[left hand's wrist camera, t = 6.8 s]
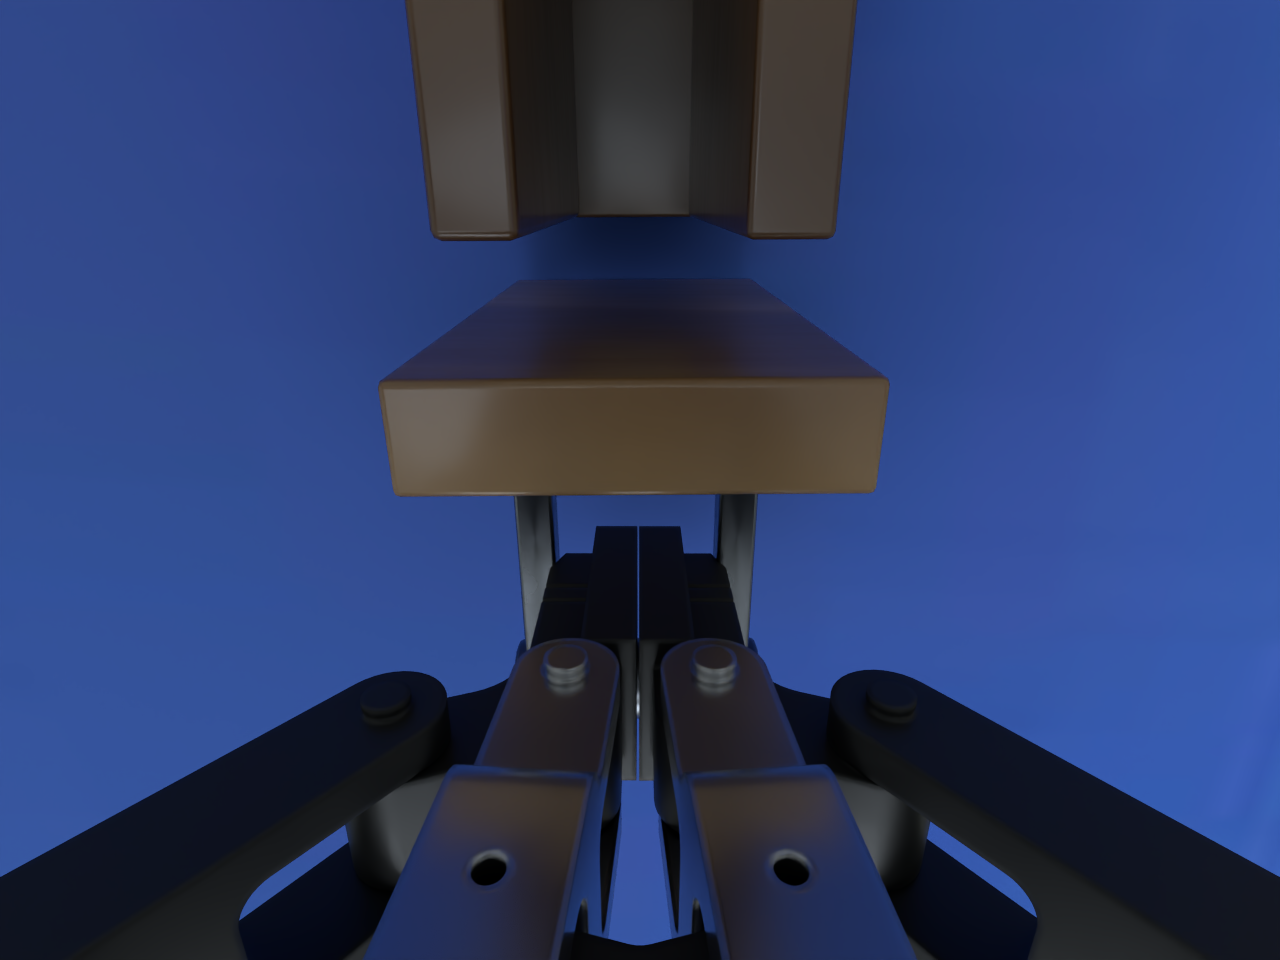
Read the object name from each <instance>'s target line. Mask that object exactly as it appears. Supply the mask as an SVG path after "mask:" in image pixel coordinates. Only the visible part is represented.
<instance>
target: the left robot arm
mask: <svg viewBox="0 0 1280 960" xmlns="http://www.w3.org/2000/svg"><path fill="white" fill-rule="evenodd" d="M636 752H637V526H596V532H595V539H594V546H593V553H566V554H565V555H564V556H563V557H561V558H560V559H559V560H558V561H557V562H556V563H555V564H554V565H553V566H552V567H551V568H550V571H549V575H548V579H547V583H546V588H545V591H544V595H543V601H542V602H541V606H540V610H539V614H538V618H537V622H536V626H535V630H534V634H533V638H532V642H531V646H530V649H529V650H527V651H526V652H525V653H523V654H522V655H521V656H520V657H519V658H518V660H517V661H516V663H515V664H514V666H513V669H512V671H511V674H510V676H509V678H508V679H506V680H505V681H503V682H501V683H499V684H497V685H495V686H492V687H489V688H487V689H483V690H480V691H476V692H472V693H467V694H462V695H458V696H453V697H448V698H447V693H446V690H445V688H444V686H443V685H442V684H441V682H439V681H438V680H437V679H436V678H434V677H432V676H430V675H427V674H423V673H419V672H412V671H400V672H391V673H385V674H381V675H377V676H373V677H371V678H368V679H365V680H363V681H361V682H359V683H357V684H355V685H353V686H351V687H349V688H347V689H346V690H344V691H342V692H340V693H338V694H336V695H335V696H333V697H331V698H329V699H327V700H325V701H324V702H322V703H320V704H318V705H316V706H314V707H312V708H311V709H309V710H307V711H305V712H303V713H301V714H300V715H298V716H296V717H294V718H292V719H290V720H289V721H287V722H285V723H283V724H281V725H279V726H278V727H276V728H274V729H272V730H270V731H268V732H266V733H265V734H263V735H261V736H259V737H257V738H255V739H254V740H252V741H250V742H248V743H246V744H244V745H243V746H241V747H239V748H237V749H235V750H233V751H232V752H230V753H228V754H226V755H224V756H222V757H220V758H219V759H217V760H215V761H213V762H211V763H209V764H208V765H206V766H204V767H202V768H200V769H198V770H197V771H195V772H193V773H191V774H189V775H187V776H186V777H184V778H182V779H180V780H178V781H176V782H174V783H173V784H171V785H169V786H167V787H165V788H163V789H162V790H160V791H158V792H156V793H154V794H152V795H151V796H149V797H147V798H145V799H143V800H141V801H140V802H138V803H136V804H134V805H132V806H130V807H128V808H127V809H125V810H123V811H121V812H119V813H117V814H116V815H114V816H112V817H110V818H108V819H106V820H105V821H103V822H101V823H99V824H97V825H95V826H94V827H92V828H90V829H88V830H86V831H84V832H82V833H81V834H79V835H77V836H75V837H73V838H71V839H70V840H68V841H66V842H64V843H62V844H60V845H59V846H57V847H55V848H53V849H51V850H49V851H47V852H46V853H44V854H42V855H40V856H38V857H36V858H35V859H33V860H31V861H29V862H27V863H25V864H24V865H22V866H20V867H18V868H16V869H14V870H13V871H11V872H9V873H7V874H5V875H3V876H1V877H0V960H1280V877H1279V876H1277V875H1275V874H1273V873H1271V872H1269V871H1267V870H1266V869H1264V868H1262V867H1260V866H1258V865H1256V864H1255V863H1253V862H1251V861H1249V860H1247V859H1245V858H1244V857H1242V856H1240V855H1238V854H1236V853H1234V852H1233V851H1231V850H1229V849H1227V848H1225V847H1223V846H1221V845H1220V844H1218V843H1216V842H1214V841H1212V840H1210V839H1209V838H1207V837H1205V836H1203V835H1201V834H1199V833H1198V832H1196V831H1194V830H1192V829H1190V828H1188V827H1187V826H1185V825H1183V824H1181V823H1179V822H1177V821H1175V820H1174V819H1172V818H1170V817H1168V816H1166V815H1164V814H1163V813H1161V812H1159V811H1157V810H1155V809H1153V808H1152V807H1150V806H1148V805H1146V804H1144V803H1142V802H1141V801H1139V800H1137V799H1135V798H1133V797H1131V796H1130V795H1128V794H1126V793H1124V792H1122V791H1120V790H1118V789H1117V788H1115V787H1113V786H1111V785H1109V784H1107V783H1106V782H1104V781H1102V780H1100V779H1098V778H1096V777H1095V776H1093V775H1091V774H1089V773H1087V772H1085V771H1084V770H1082V769H1080V768H1078V767H1076V766H1074V765H1072V764H1071V763H1069V762H1067V761H1065V760H1063V759H1061V758H1060V757H1058V756H1056V755H1054V754H1052V753H1050V752H1049V751H1047V750H1045V749H1043V748H1041V747H1039V746H1038V745H1036V744H1034V743H1032V742H1030V741H1028V740H1026V739H1025V738H1023V737H1021V736H1019V735H1017V734H1015V733H1014V732H1012V731H1010V730H1008V729H1006V728H1004V727H1003V726H1001V725H999V724H997V723H995V722H993V721H992V720H990V719H988V718H986V717H984V716H982V715H980V714H979V713H977V712H975V711H973V710H971V709H969V708H968V707H966V706H964V705H962V704H960V703H958V702H957V701H955V700H953V699H951V698H949V697H947V696H946V695H944V694H942V693H940V692H938V691H936V690H934V689H933V688H931V687H929V686H927V685H925V684H923V683H922V682H919V681H917V680H915V679H913V678H911V677H908V676H905V675H902V674H898V673H895V672H890V671H884V670H862V671H856V672H853V673H849V674H847V675H845V676H843V677H841V678H840V679H839V680H838V681H837V682H836V683H835V684H834V685H833V688H832V690H831V696H830V698H825V697H821V696H816V695H811V694H807V693H802V692H798V691H794V690H791V689H788V688H785V687H782V686H780V685H778V684H776V683H774V682H773V681H772V679H771V676H770V674H769V671H768V669H767V666H766V664H765V662H764V661H763V659H762V658H761V657H760V656H759V655H758V654H757V653H756V652H754V651H753V650H751V649H750V648H748V647H746V646H745V644H744V640H743V636H742V631H741V627H740V623H739V619H738V615H737V611H736V607H735V602H734V598H733V594H732V590H731V588H730V582H729V578H728V573H727V569H726V567H725V566H724V565H722V564H721V563H720V562H717V561H716V558H715V557H714V556H713V555H712V554H684V552H683V544H682V536H681V528H680V526H639V781H654V802H655V807H656V810H657V812H658V814H659V838H660V846H661V854H662V862H663V871H664V879H665V887H666V895H667V903H668V911H669V919H670V928H671V936H672V939H669V940H665V941H662V942H658V943H654V944H650V945H630V944H626V943H622V942H618V941H615V940H611V939H608V936H609V928H610V920H611V912H612V904H613V896H614V887H615V879H616V871H617V863H618V855H619V847H620V839H621V788H622V780H636ZM930 821H931V822H932V823H933V824H935V825H936V826H938V827H939V828H941V829H942V830H944V831H945V832H946V833H948V834H949V835H951V836H952V837H954V838H955V839H956V840H958V841H959V842H961V843H962V844H964V845H965V846H967V847H968V848H969V849H971V850H972V851H974V852H975V853H977V854H978V855H979V856H981V857H982V858H984V859H985V860H987V861H988V862H990V863H991V864H992V865H994V866H995V867H997V868H998V869H1000V870H1001V871H1002V872H1004V873H1005V874H1007V875H1008V876H1009V877H1011V878H1012V879H1013V880H1014V881H1015V882H1016V883H1017V884H1018V885H1019V886H1020V887H1021V888H1022V889H1023V890H1024V892H1025V893H1026V894H1027V896H1028V897H1029V899H1030V901H1031V902H1032V904H1033V907H1034V909H1035V912H1036V915H1037V918H1036V917H1035V916H1033V915H1032V914H1031V913H1029V912H1028V911H1027V910H1025V909H1024V908H1022V907H1021V906H1020V905H1018V904H1017V903H1015V902H1014V901H1013V900H1011V899H1010V898H1008V897H1007V896H1006V895H1004V894H1003V893H1001V892H1000V891H999V890H997V889H996V888H995V887H993V886H992V885H990V884H989V883H988V882H986V881H985V880H983V879H982V878H981V877H979V876H978V875H976V874H975V873H974V872H972V871H971V870H969V869H968V868H967V867H965V866H964V865H963V864H961V863H960V862H958V861H957V860H956V859H954V858H953V857H951V856H950V855H949V854H947V853H946V852H944V851H943V850H942V849H940V848H939V847H937V846H936V845H935V844H933V843H932V842H931V841H929V840H928V839H927V835H928V830H929V825H930ZM344 825H345V826H346V831H347V836H348V841H349V842H348V843H347V844H345V845H344V846H343V847H341V848H340V849H338V850H337V851H336V852H334V853H333V854H331V855H330V856H329V857H327V858H326V859H325V860H323V861H322V862H320V863H319V864H318V865H316V866H315V867H313V868H312V869H311V870H309V871H308V872H306V873H305V874H304V875H302V876H301V877H299V878H298V879H297V880H295V881H294V882H293V883H291V884H290V885H288V886H287V887H286V888H284V889H283V890H281V891H280V892H279V893H277V894H276V895H274V896H273V897H272V898H270V899H269V900H267V901H266V902H265V903H263V904H262V905H260V906H259V907H258V908H256V909H255V910H254V911H252V912H251V913H249V914H248V915H247V916H245V917H244V918H242V919H241V920H239V918H240V914H241V912H242V909H243V907H244V905H245V904H246V902H247V900H248V899H249V897H250V896H251V895H252V893H253V892H254V891H255V890H256V889H257V888H258V887H259V886H260V885H261V884H262V883H263V882H264V881H265V880H267V879H268V878H269V877H270V876H272V875H273V874H275V873H276V872H278V871H279V870H281V869H282V868H283V867H285V866H286V865H288V864H289V863H291V862H292V861H293V860H295V859H296V858H298V857H299V856H301V855H302V854H304V853H305V852H306V851H308V850H309V849H311V848H312V847H314V846H315V845H316V844H318V843H319V842H321V841H322V840H324V839H325V838H326V837H328V836H329V835H331V834H332V833H334V832H335V831H337V830H338V829H339V828H341V827H342V826H344Z"/></svg>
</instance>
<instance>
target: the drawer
mask: <svg viewBox="0 0 1280 960" xmlns="http://www.w3.org/2000/svg"><path fill="white" fill-rule="evenodd" d="M405 7H406V16H407V25H408V34H409V43H410V52H411V61H412V70H413V79H414V88H415V97H416V106H417V115H418V124H419V133H420V142H421V151H422V160H423V169H424V178H425V187H426V196H427V205H428V214H429V223H430V230H431V232H432V234H433V236H434V238H436V239H438V240H441V241H511V240H514V239H516V238H519V237H522V236H525V235H527V234H530V233H533V232H536V231H538V230H541V229H544V228H547V227H549V226H552V225H555V224H558V223H560V222H563V221H566V220H569V219H571V218H574V217H694V218H697V219H700V220H702V221H705V222H708V223H710V224H713V225H716V226H718V227H721V228H724V229H726V230H729V231H732V232H734V233H737V234H740V235H742V236H745V237H748V238H750V239H828V238H831V237H833V235H834V233H835V231H836V222H837V212H838V201H839V190H840V180H841V169H842V159H843V148H844V137H845V127H846V116H847V106H848V95H849V85H850V74H851V63H852V53H853V42H854V32H855V21H856V10H857V0H405ZM889 386H890V384H889V381H888V378H887V377H885V376H884V375H883V374H881V373H880V372H879V371H877V370H876V369H874V368H873V367H872V366H870V365H869V364H868V363H866V362H865V361H863V360H862V359H861V358H859V357H858V356H856V355H855V354H854V353H852V352H851V351H850V350H848V349H847V348H845V347H844V346H843V345H841V344H840V343H838V342H837V341H836V340H834V339H833V338H832V337H830V336H829V335H827V334H826V333H825V332H823V331H822V330H821V329H819V328H818V327H816V326H815V325H814V324H812V323H811V322H809V321H808V320H807V319H805V318H804V317H803V316H801V315H800V314H798V313H797V312H796V311H794V310H793V309H791V308H790V307H789V306H787V305H786V304H785V303H783V302H782V301H780V300H779V299H778V298H776V297H775V296H773V295H772V294H771V293H769V292H768V291H767V290H765V289H764V288H762V287H761V286H760V285H758V284H757V283H756V282H754V281H753V280H751V279H633V280H519V281H517V282H516V283H514V284H513V285H511V286H510V287H509V288H507V289H506V290H505V291H503V292H502V293H500V294H499V295H498V296H496V297H495V298H494V299H492V300H491V301H489V302H488V303H487V304H485V305H484V306H483V307H481V308H480V309H478V310H477V311H476V312H474V313H473V314H472V315H470V316H469V317H468V318H466V319H465V320H463V321H462V322H461V323H459V324H458V325H457V326H455V327H454V328H452V329H451V330H450V331H448V332H447V333H446V334H444V335H443V336H441V337H440V338H439V339H437V340H436V341H435V342H433V343H432V344H430V345H429V346H428V347H426V348H425V349H424V350H422V351H421V352H419V353H418V354H417V355H415V356H414V357H413V358H411V359H410V360H409V361H407V362H406V363H404V364H403V365H402V366H400V367H399V368H398V369H396V370H395V371H393V372H392V373H391V374H389V375H388V376H387V377H385V378H384V379H382V380H381V381H380V382H379V386H378V391H379V398H380V405H381V411H382V418H383V425H384V432H385V438H386V445H387V452H388V458H389V465H390V472H391V478H392V485H393V491H394V493H395V495H397V496H400V497H407V496H514V505H515V517H516V530H517V543H518V555H519V568H520V580H521V593H522V606H523V618H524V631H525V639H524V640H522V641H521V642H520V644H519V646H518V649H517V654H516V659H515V663H516V661H517V660H518V658H519V657H520V656H521V655H522V654H523V653H525V652H526V651H527V650H529V649H530V646H531V642H532V638H533V634H534V630H535V626H536V622H537V618H538V614H539V610H540V606H541V602H542V601H543V595H544V591H545V588H546V583H547V579H548V575H549V571H550V568H551V567H552V566H553V565H554V564H555V563H556V562H557V561H558V560H559V559H560V556H559V538H558V519H557V501H556V495H687V494H716V495H715V520H714V546H713V556H714V557H715V558H716V561H717V562H720V563H721V564H722V565H724V566H725V567H726V569H727V573H728V578H729V582H730V588H731V590H732V594H733V598H734V602H735V607H736V611H737V615H738V619H739V623H740V627H741V631H742V636H743V640H744V644H745V646H746V647H748V648H750V649H751V650H753V651H754V652H756V653H757V654H758V651H757V647H756V645H755V642H754V640H753V639H752V638H749V625H750V609H751V594H752V578H753V562H754V546H755V531H756V515H757V499H758V494H827V493H871V492H874V490H875V488H876V484H877V477H878V469H879V461H880V454H881V446H882V439H883V431H884V424H885V416H886V408H887V401H888V393H889ZM637 718H639V638H637Z"/></svg>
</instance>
